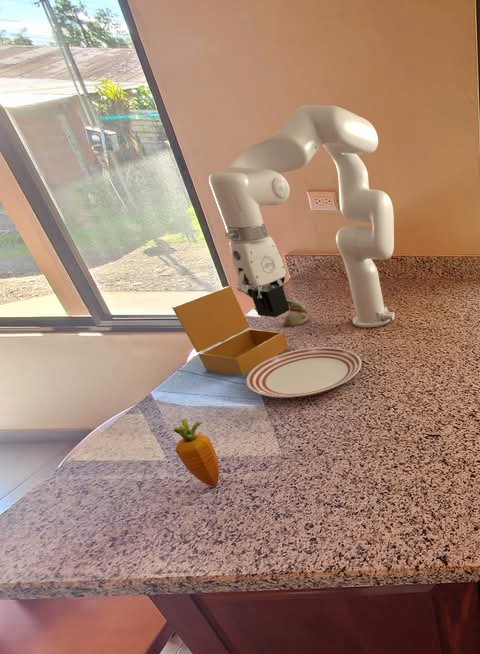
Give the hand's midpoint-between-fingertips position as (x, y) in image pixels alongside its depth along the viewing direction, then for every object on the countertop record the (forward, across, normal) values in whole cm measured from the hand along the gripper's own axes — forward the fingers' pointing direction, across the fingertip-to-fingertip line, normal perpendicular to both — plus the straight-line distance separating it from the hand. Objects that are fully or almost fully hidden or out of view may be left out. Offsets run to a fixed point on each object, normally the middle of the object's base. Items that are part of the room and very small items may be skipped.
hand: (272, 307), depth 106 cm
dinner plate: (+19, -1, -6) cm, 20 cm away
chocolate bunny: (+20, +30, +24) cm, 43 cm away
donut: (+20, +13, +30) cm, 38 cm away
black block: (+1, 0, 0) cm, 1 cm away
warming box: (+19, +3, +18) cm, 26 cm away
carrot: (+19, -40, -15) cm, 47 cm away
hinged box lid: (+7, +3, +24) cm, 25 cm away
